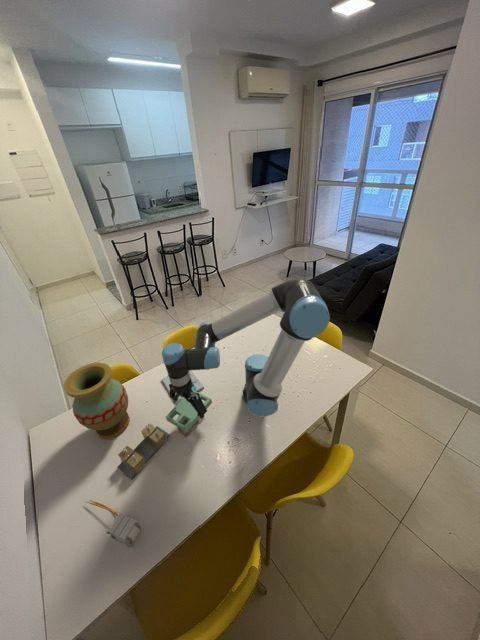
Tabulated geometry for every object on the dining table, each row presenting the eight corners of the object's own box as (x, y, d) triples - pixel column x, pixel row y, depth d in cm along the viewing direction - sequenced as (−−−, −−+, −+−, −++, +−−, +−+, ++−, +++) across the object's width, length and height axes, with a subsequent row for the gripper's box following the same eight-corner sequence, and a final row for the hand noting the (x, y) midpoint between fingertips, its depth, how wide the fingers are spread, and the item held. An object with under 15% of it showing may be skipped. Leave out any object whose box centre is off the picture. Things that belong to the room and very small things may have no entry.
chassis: (171, 436, 108) (167, 425, 104) (132, 480, 94) (126, 470, 90) (156, 426, 112) (152, 415, 108) (117, 467, 99) (110, 456, 94)
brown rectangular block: (203, 415, 116) (202, 407, 112) (185, 437, 108) (183, 428, 104) (197, 411, 118) (195, 403, 114) (178, 432, 110) (176, 424, 106)
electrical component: (81, 521, 88) (73, 515, 85) (95, 502, 92) (88, 495, 90) (132, 549, 77) (125, 542, 75) (145, 526, 82) (138, 519, 79)
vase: (145, 411, 119) (126, 364, 102) (116, 452, 104) (87, 405, 86) (111, 401, 125) (88, 355, 107) (78, 438, 109) (45, 391, 92)
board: (211, 402, 111) (211, 398, 109) (187, 432, 100) (185, 429, 98) (192, 392, 116) (191, 389, 114) (166, 420, 105) (165, 416, 103)
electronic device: (161, 378, 133) (187, 365, 140) (162, 381, 135) (188, 368, 142) (175, 401, 121) (203, 385, 128) (176, 404, 122) (204, 389, 129)
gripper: (211, 384, 94) (218, 420, 106) (165, 363, 105) (177, 397, 117) (198, 399, 89) (207, 435, 101) (151, 375, 100) (165, 410, 112)
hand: (191, 415), depth 109 cm, fingers closed on board, 11 cm apart
